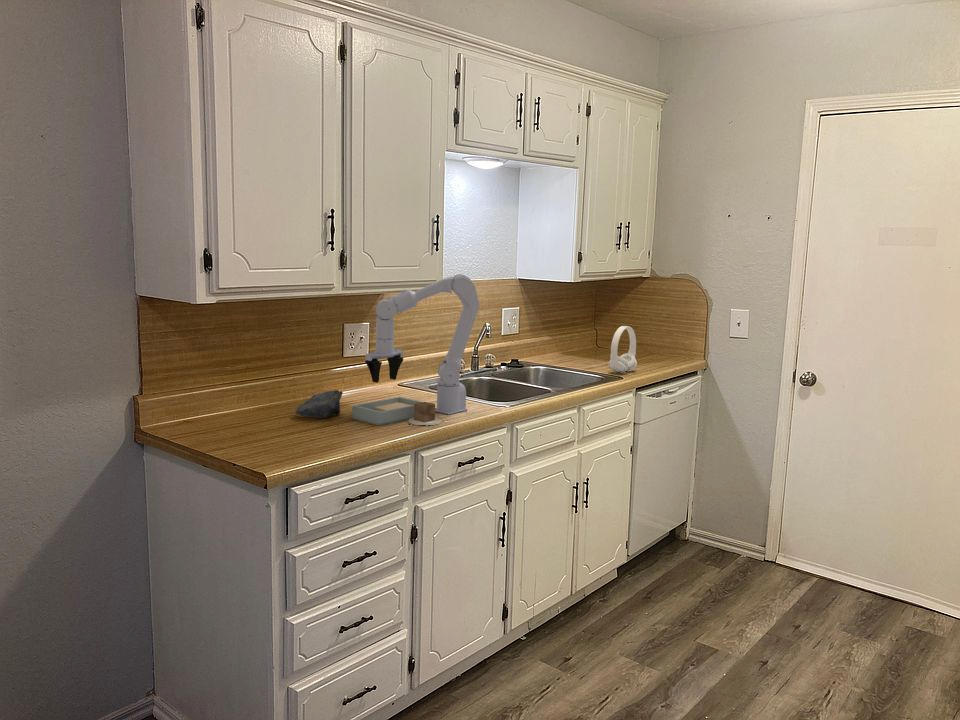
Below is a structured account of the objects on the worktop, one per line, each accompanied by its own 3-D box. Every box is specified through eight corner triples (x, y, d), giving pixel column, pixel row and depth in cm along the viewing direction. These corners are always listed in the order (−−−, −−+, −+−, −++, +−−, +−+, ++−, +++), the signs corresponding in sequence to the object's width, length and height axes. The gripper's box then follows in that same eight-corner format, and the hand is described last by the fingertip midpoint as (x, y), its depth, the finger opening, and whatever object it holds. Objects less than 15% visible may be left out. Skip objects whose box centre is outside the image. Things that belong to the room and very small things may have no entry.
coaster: (424, 416, 243) (424, 414, 243) (448, 422, 237) (448, 420, 237) (401, 421, 235) (401, 419, 235) (425, 427, 229) (425, 425, 229)
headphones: (639, 370, 340) (642, 325, 337) (620, 376, 325) (623, 328, 322) (623, 368, 344) (626, 323, 341) (603, 373, 330) (606, 327, 326)
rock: (352, 419, 237) (348, 405, 246) (343, 396, 233) (340, 383, 242) (303, 437, 235) (300, 422, 243) (293, 414, 231) (291, 400, 240)
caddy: (399, 408, 253) (399, 396, 252) (426, 415, 245) (427, 402, 244) (352, 418, 237) (352, 405, 237) (380, 425, 230) (380, 412, 229)
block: (424, 417, 239) (424, 401, 238) (434, 420, 236) (435, 403, 236) (413, 419, 236) (414, 403, 235) (424, 422, 233) (424, 406, 232)
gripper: (392, 335, 253) (391, 376, 255) (358, 338, 242) (358, 381, 244) (407, 337, 248) (407, 379, 251) (374, 341, 237) (374, 384, 240)
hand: (384, 380), depth 247 cm, fingers open, 7 cm apart
